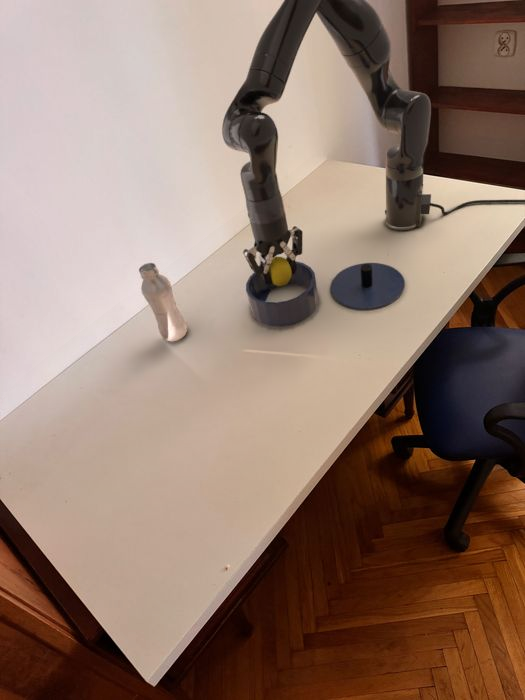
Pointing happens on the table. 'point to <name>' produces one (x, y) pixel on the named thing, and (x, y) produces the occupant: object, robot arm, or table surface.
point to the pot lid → (367, 286)
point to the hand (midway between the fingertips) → (280, 277)
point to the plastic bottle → (162, 303)
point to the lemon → (280, 271)
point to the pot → (284, 310)
